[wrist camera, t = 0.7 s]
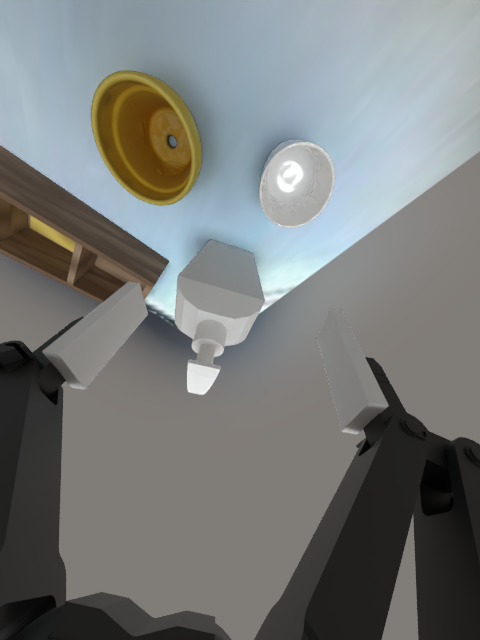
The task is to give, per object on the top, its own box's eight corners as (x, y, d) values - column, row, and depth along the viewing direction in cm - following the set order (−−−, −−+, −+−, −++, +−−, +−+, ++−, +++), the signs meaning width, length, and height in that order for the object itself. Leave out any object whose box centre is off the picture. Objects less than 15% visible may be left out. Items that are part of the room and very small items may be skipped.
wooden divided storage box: (-85, 87, 25) (-183, 80, 19) (169, 261, 40) (154, 284, 35) (-60, 178, 32) (-125, 191, 27) (146, 295, 48) (131, 318, 43)
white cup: (249, 175, 29) (244, 195, 22) (291, 115, 24) (302, 117, 17) (285, 213, 32) (290, 240, 25) (328, 167, 27) (350, 186, 21)
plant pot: (186, 201, 32) (166, 225, 25) (123, 141, 27) (78, 151, 20) (228, 139, 26) (216, 149, 19) (156, 49, 21) (108, 21, 15)
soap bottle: (194, 275, 43) (145, 391, 25) (200, 231, 35) (139, 350, 18) (247, 291, 44) (237, 408, 27) (264, 252, 37) (265, 378, 20)
